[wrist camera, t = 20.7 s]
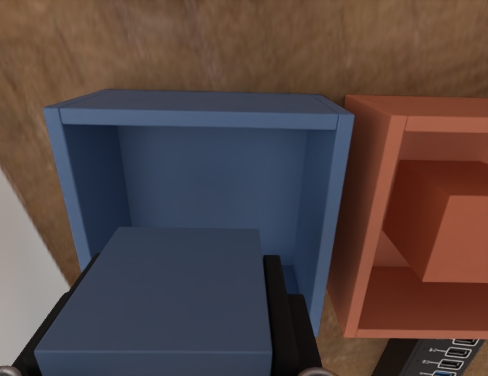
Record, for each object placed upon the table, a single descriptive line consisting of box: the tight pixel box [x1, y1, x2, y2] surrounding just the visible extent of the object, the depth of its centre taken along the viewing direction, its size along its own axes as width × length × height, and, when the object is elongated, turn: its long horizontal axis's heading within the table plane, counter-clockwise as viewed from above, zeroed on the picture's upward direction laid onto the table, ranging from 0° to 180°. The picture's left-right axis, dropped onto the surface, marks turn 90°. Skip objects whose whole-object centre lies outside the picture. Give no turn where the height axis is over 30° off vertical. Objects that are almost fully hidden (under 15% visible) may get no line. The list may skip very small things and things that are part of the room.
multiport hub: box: [372, 338, 486, 376], centre depth 23 cm, size 4×14×2 cm, turn 171°
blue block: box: [34, 227, 272, 376], centre depth 9 cm, size 5×5×5 cm
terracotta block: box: [383, 160, 488, 283], centre depth 16 cm, size 5×5×5 cm
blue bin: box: [43, 89, 355, 337], centre depth 16 cm, size 11×11×6 cm
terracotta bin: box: [326, 95, 488, 339], centre depth 16 cm, size 11×11×6 cm
